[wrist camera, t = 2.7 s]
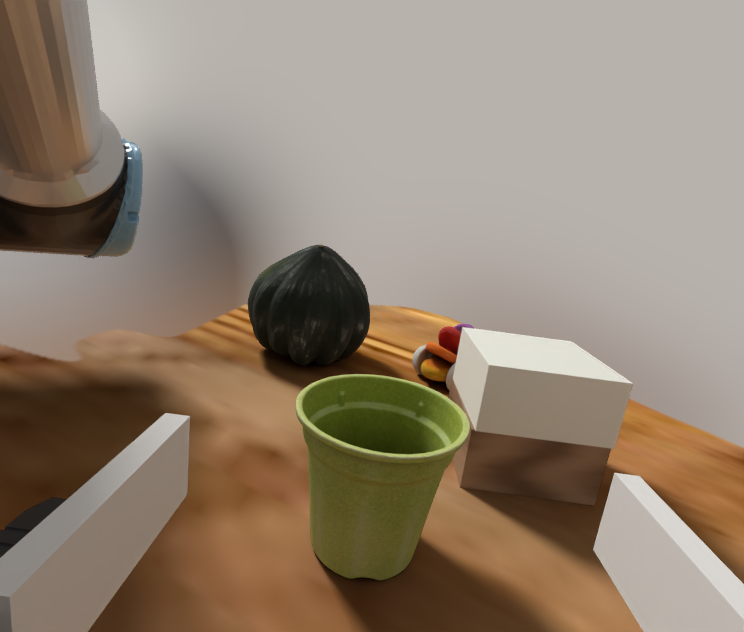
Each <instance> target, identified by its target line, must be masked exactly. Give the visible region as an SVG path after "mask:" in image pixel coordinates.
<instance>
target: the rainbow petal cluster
mask: <svg viewBox="0 0 744 632" xmlns="http://www.w3.org/2000/svg"><path fill="white" fill-rule="evenodd" d="M462 327H465V328H473V327H472V326H471V325H469V324H459V325H457V326H455V327H454V328H453V327H444V328H443V329H441V331H440V332H439V335H438V337H439V338H438V339H439V345H437V344H435V343H433V342H429V343H427V344H426V345H423V346H421V347H419V348H418V349H417V350H416V351H415V353H414V355H413V366H414V369H415V370H416V372H417V373H418V374H420V375H422V376H425V377H426V378H428V379H431V380H435V381H446V385H447V388H448V390H449V391H450V386H451V381H452V378H453V375H454V370H455V364H456V359H457V354H458V348H459V343H460V337H461V332H462ZM473 329H474V328H473Z"/></svg>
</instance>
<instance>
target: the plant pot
mask: <svg viewBox="0 0 744 632" xmlns="http://www.w3.org/2000/svg"><path fill="white" fill-rule="evenodd" d="M296 414H297V417H298V419H299V421H300V423H301V424H302V426H303V435H304V439H305V442H306V444H307V446H308V463H309V496H310V533H311V543H312V546H313V549H314V551H315V553H316V555H317V556H318V558H319V559H320V560H321V562H322V563H323V564H324V565H326V566H327V567H328V568H329V569H331V570H332V571H334V572H335V573H337V574H339V575H341V576H344V577H346V578H350V579H353V578H358V577H366V578H373V579H376V580H385V579H389V578H391V577H393V576H395V575H397V574H399V573H400V572H402V571H403V570H404V569H405V568H406V567H407V566H408V564H409V563H410V561H411V559H412V557H413V555H414V552H415V549H416V546H417V544H418V541H419V538H420V535H421V532H422V529H423V527H424V524H425V521H426V518H427V515H428V513H429V510H430V507H431V504H432V502H433V499H434V496H435V494H436V491H437V488H438V486H439V483H440V480H441V478H442V475H443V473H444V470H445V469H446V468H447V467H448V465H449V464H450V463H451V461H452V459H453V457H454V455H455V452H456V451H458V450H459V449H460V448H461V447H462V446H463V445H464V443H465V442H466V440H467V438H468V435H469V432H470V424H469V420H468V418H467V416H466V414H465V413H464V411H463V410H462V409H461V408H460V407H459V406H458V405H457V404H456V403H454V402H453V401H452V400H450V399H449V398H447V397H446V396H444V395H442V394H441V393H439V392H437V391H435V390H433V389H431V388H428V387H426V386H424V385H421V384H418V383H415V382H411V381H407V380H403V379H398V378H394V377H388V376H381V375H369V374H349V375H339V376H332V377H328V378H324V379H321V380H318V381H316V382H314V383H312V384H310V385H308V386H307V387H306V388H305V389H303V390H302V391H301V392H300V394H299V395H298V397H297V400H296Z"/></svg>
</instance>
